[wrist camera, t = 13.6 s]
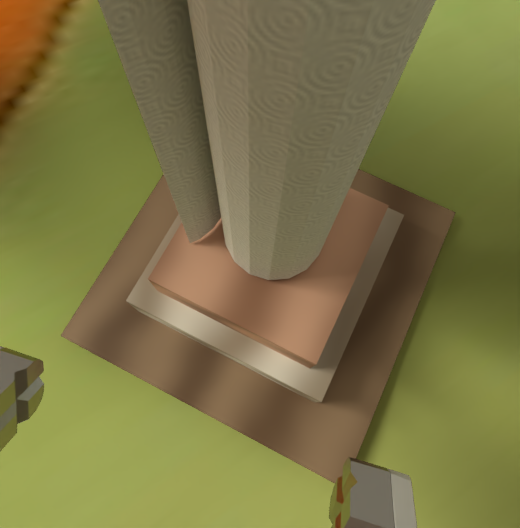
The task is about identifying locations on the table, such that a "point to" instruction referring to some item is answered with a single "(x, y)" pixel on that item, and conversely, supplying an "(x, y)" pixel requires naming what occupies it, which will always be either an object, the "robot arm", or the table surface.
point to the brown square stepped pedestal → (269, 320)
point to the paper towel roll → (263, 110)
